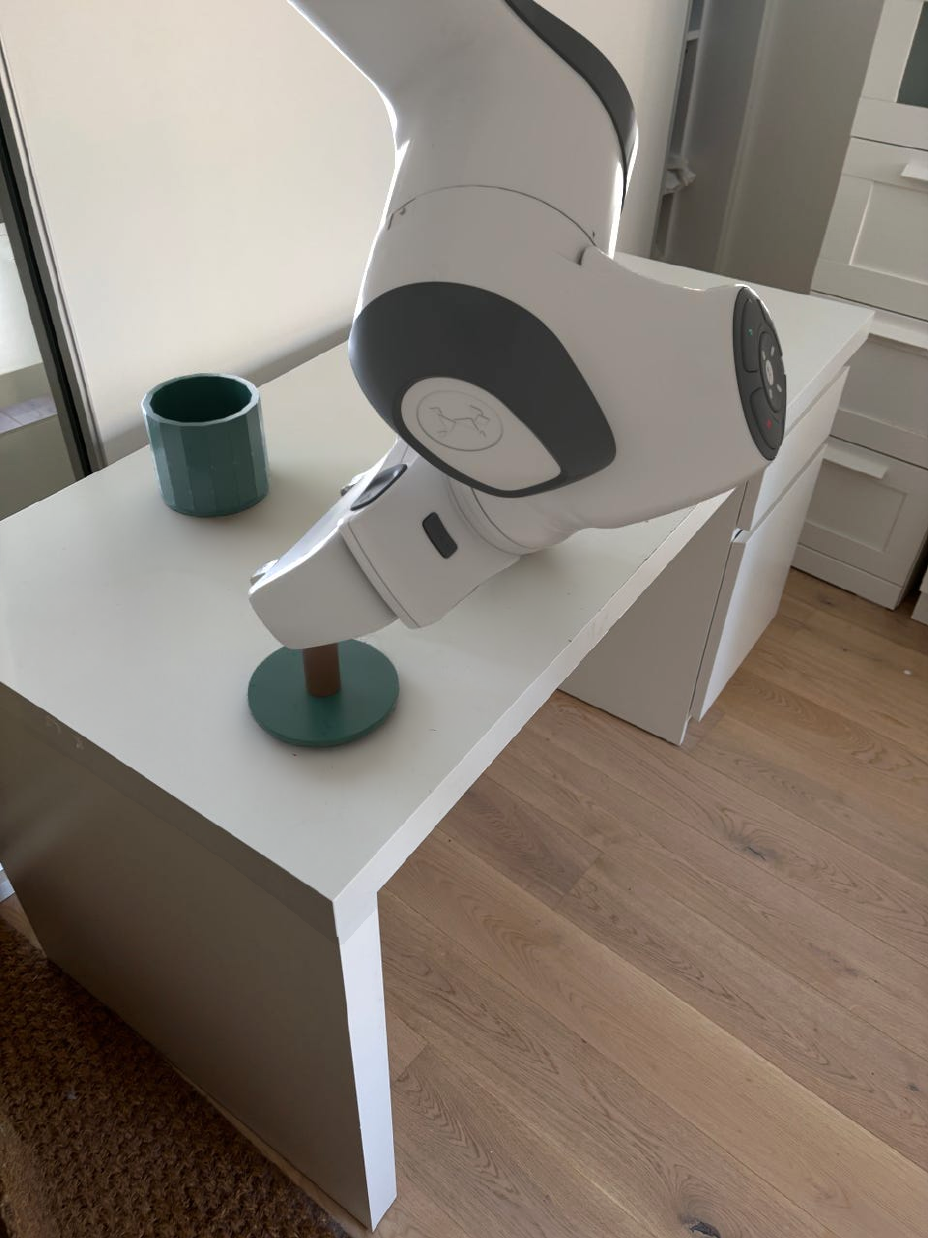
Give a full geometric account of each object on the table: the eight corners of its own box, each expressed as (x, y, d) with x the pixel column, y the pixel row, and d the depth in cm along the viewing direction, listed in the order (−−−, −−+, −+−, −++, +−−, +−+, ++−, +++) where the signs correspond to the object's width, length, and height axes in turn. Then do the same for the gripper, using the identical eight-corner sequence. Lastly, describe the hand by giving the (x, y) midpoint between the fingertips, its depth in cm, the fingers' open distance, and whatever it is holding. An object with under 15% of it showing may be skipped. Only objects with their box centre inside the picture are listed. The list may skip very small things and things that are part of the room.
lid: (274, 772, 67) (259, 680, 61) (231, 671, 74) (214, 581, 69) (423, 723, 70) (422, 633, 65) (367, 632, 78) (362, 544, 73)
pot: (174, 526, 89) (155, 435, 83) (151, 472, 96) (132, 384, 90) (283, 502, 93) (272, 412, 86) (253, 451, 100) (241, 365, 94)
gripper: (531, 335, 55) (370, 411, 64) (336, 537, 41) (168, 596, 51) (584, 429, 57) (421, 489, 66) (414, 649, 44) (240, 686, 53)
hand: (310, 537), depth 58 cm, fingers open, 8 cm apart
